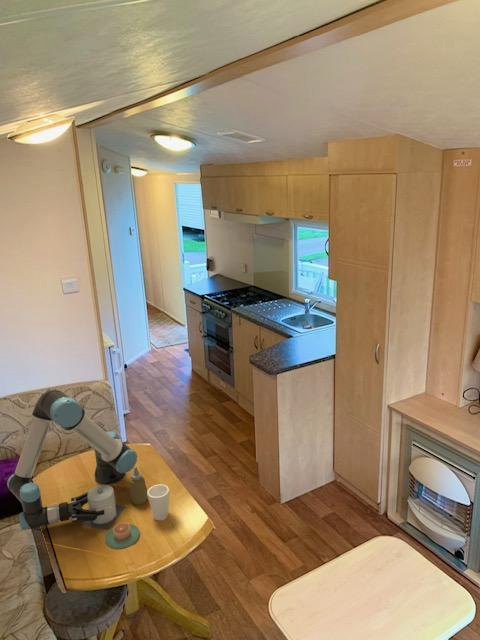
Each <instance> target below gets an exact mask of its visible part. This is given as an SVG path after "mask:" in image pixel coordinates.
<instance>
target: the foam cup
mask: <svg viewBox="0 0 480 640" xmlns="http://www.w3.org/2000/svg"><path fill="white" fill-rule="evenodd" d="M147 500H148V502H149V505H150V510H151V512H152V517H153V519H154V520H155V521H157V520H158V521H157V522H159V520H162V521H164V519H165V520H166V519H167V518H168V516H169V505H170V503H169V502H170V501H169V500H170V488H169V487H168V486H167V485H166V484H163V483H160V484H155V485H151V487H150V488H148V489H147Z"/></svg>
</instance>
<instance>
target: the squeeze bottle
mask: <svg viewBox="0 0 480 640" xmlns="http://www.w3.org/2000/svg"><path fill="white" fill-rule="evenodd" d="M130 475H131V476H130V479H129V497H130V499H131V501H132V503H133V504H134V505H136V506H139V505H143V504H145V503H146V501H147V499H148V494H147V491H148V489H147V484H146V481H145V480H146V479H145V477H144V476H143V474H142V472H141V471H139V468H138V467H136V466H134V467H133V473H131V474H130Z"/></svg>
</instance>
